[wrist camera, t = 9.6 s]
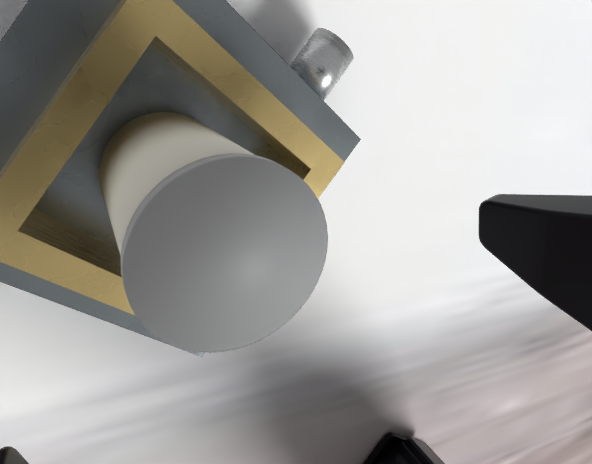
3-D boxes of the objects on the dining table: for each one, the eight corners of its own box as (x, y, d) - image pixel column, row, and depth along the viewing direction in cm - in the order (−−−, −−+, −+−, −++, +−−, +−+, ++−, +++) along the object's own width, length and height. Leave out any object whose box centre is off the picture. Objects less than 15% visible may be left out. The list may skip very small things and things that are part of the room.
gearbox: (185, 321, 22) (219, 394, 17) (-102, 200, 15) (-170, 270, 10) (354, 88, 21) (433, 101, 17) (143, -150, 14) (183, -238, 10)
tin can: (182, 256, 17) (250, 375, 11) (66, 194, 14) (72, 307, 8) (252, 160, 17) (361, 227, 11) (149, 79, 14) (217, 108, 8)
